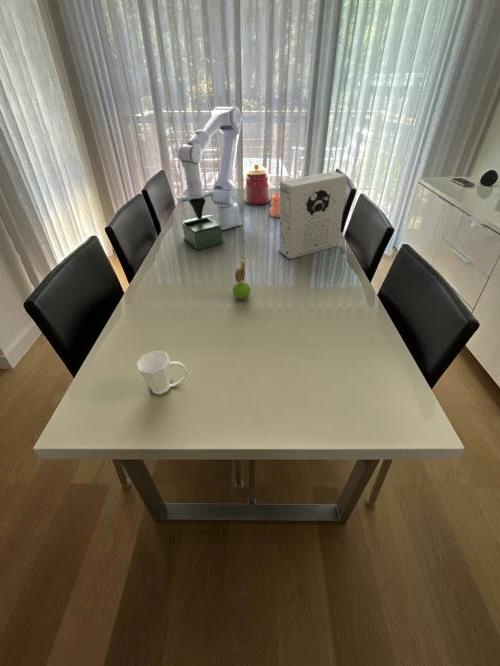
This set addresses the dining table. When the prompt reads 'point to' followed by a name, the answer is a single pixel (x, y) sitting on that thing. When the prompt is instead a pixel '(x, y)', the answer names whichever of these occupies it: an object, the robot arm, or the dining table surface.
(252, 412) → the dining table surface
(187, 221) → the pale green slab
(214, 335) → the dining table surface
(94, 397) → the dining table surface
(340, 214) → the cereal box
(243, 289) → the figurine on green ball
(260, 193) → the kitchen canister
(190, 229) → the box
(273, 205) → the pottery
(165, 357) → the cup
